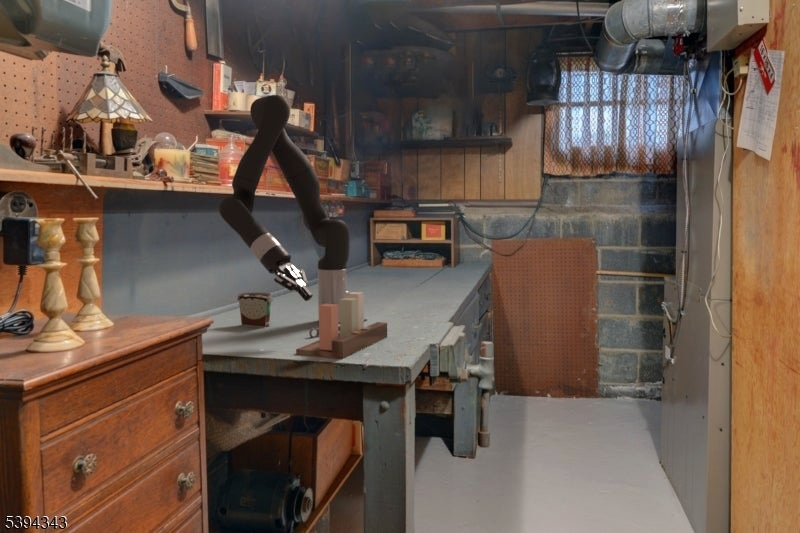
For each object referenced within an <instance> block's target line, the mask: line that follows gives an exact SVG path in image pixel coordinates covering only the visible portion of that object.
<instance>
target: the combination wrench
mask: <svg viewBox="0 0 800 533" xmlns="http://www.w3.org/2000/svg"><path fill="white" fill-rule="evenodd" d="M367 321H368V319H367V318H364V323H365V322H367ZM313 331H316V334H315V335H312V334H313ZM308 332H309V333H308V334H309V336H310V338H313V339H314V338H318V337H319V328H316V327H311V329H309V331H308ZM339 332H340V325H338V333H339Z"/></svg>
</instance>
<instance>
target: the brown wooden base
mask: <svg viewBox="0 0 800 533" xmlns="http://www.w3.org/2000/svg"><path fill="white" fill-rule="evenodd" d="M386 337H387V338H388V322H385V321H384V322H382V321H377V322H375V323H372V324H370V325H368V326H364V328H361V329H360V330H357V331H354V332H352V333H350V334H347V335H345V336H343V337H340V331H339V332H338V339H335V340H333V341H332V350H322V349H319V340H316V341H314V342H312V343H309V344H306V345H303V346H300V347H298V348H296V350H295V353H296V355H301V356H302V355H303V356H305V355H306V356H314V357H322V358H331V359H332V358H333V359H340V358H341V359H343V358H344V359H346V358H348V357H350V356H352V355H354V354H356V353H358V352H360V351H361V349H362V350H364V349H366V348H368V347H370V346H372V345H374V344H373V343H375V344H376V342H377V343H379V342H381V341H382V339H383V340H384V338H385V339H387V338H386ZM380 340H381V341H380ZM378 341H379V342H378ZM371 344H372V345H371ZM369 345H370V346H369ZM367 346H368V347H367ZM365 347H366V348H365ZM363 348H364V349H363ZM359 350H360V351H359ZM357 351H358V352H357ZM355 352H356V353H355ZM353 353H354V354H353ZM351 354H352V355H351ZM349 355H350V356H349ZM347 356H348V357H347ZM345 357H346V358H345Z"/></svg>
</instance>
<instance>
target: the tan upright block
mask: <svg viewBox="0 0 800 533" xmlns="http://www.w3.org/2000/svg"><path fill="white" fill-rule="evenodd" d="M364 294H365V293H364V292H361V291H359V292H358V291H352V292H349V293H347V298H358V330H360V329H361V328H364V327H365V322H364V319H365V317H364V316H365V311H364V310H365V308H364V300H365V299H364V298H365V297H364Z"/></svg>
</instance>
